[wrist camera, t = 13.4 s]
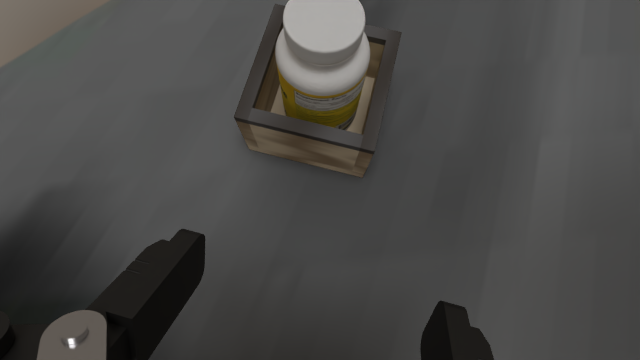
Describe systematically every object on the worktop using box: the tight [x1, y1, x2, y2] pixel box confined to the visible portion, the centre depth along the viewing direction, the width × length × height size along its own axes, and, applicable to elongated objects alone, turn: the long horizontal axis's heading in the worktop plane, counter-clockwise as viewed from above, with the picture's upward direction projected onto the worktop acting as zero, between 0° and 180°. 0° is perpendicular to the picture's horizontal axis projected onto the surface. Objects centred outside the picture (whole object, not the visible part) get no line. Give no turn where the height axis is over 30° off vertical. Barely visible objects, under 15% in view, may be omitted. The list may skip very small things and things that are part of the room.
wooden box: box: [234, 4, 402, 178], centre depth 28 cm, size 10×10×6 cm
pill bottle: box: [275, 0, 370, 130], centre depth 25 cm, size 6×6×11 cm
